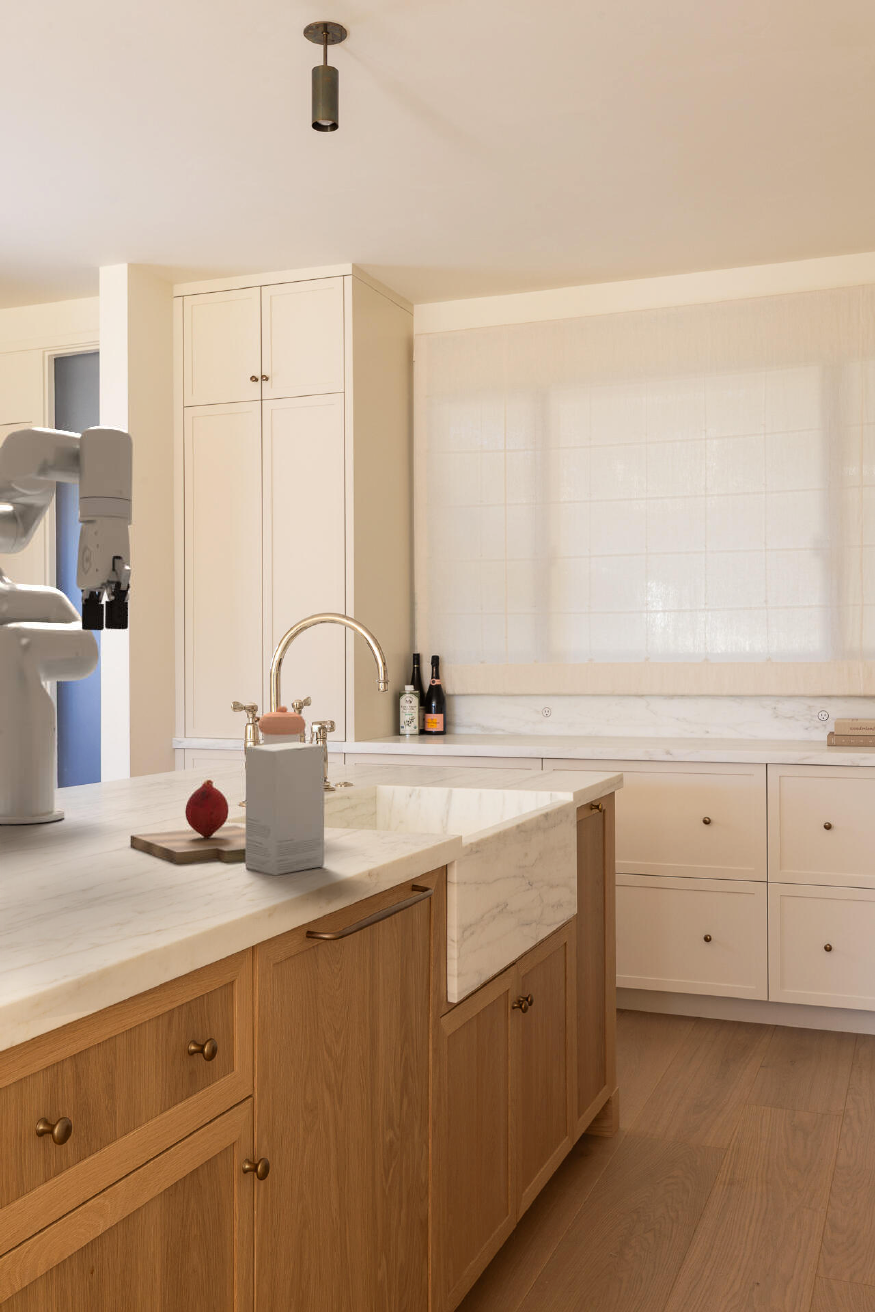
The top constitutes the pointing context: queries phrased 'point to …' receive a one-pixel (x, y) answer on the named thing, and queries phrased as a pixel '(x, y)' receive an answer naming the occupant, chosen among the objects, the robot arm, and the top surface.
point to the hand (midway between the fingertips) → (104, 629)
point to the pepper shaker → (281, 726)
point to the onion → (206, 809)
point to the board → (194, 845)
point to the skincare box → (284, 807)
